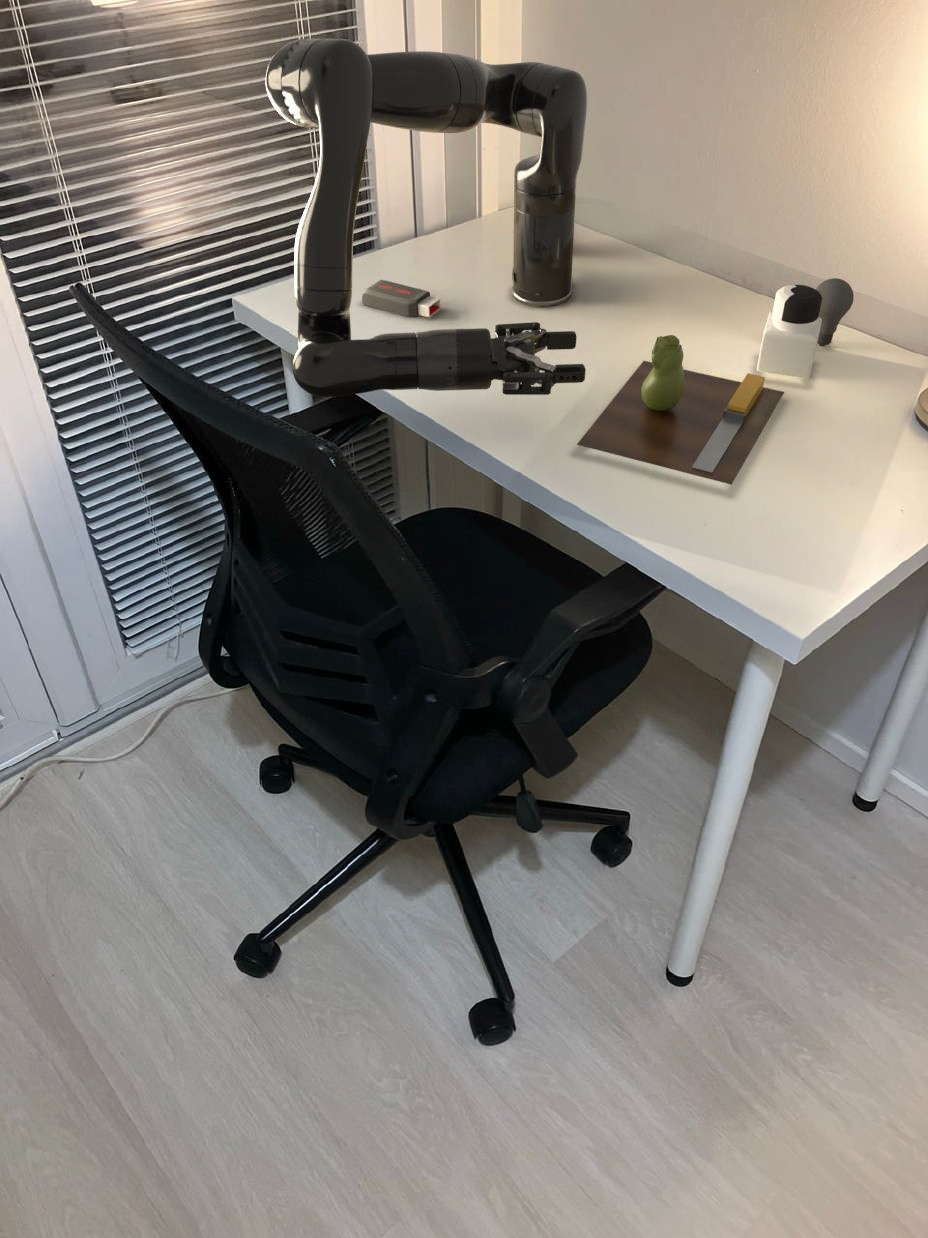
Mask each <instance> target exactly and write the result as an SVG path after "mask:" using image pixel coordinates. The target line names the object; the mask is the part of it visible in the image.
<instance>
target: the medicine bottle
mask: <svg viewBox="0 0 928 1238" xmlns="http://www.w3.org/2000/svg"><path fill="white" fill-rule="evenodd" d="M821 303H822V295H821V294H820V292H819V291H817V290H816V288H814V287H812V286H808V285H804V284H789V285H785V286H783V287H781V288H779V289H778V290H777V291H776V292H775V298H774V303H773V309H772V310H771V311H769V313H768V316H767V320H766V324H765V326H764V330H763V333H762V337H761V338H762V339H761V344H760V350H759V354H758V360H757V365H756V371H757V372H761V373H766V374H775V375H781V376H788V377H795V378H796V377H797V378H802V379H809V378H810V377H811V374H812V368H813V364H814V359H815V356H816V355H815V354H816V349H817V345H818V344H817V342H818V337H819V332H820V327H821V322H822V319H821V318H820V317H819V312H820V308H821Z"/></svg>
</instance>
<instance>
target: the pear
mask: <svg viewBox="0 0 928 1238" xmlns="http://www.w3.org/2000/svg"><path fill="white" fill-rule="evenodd" d="M651 362H652V364H653V366H654V367H653V369H652V370H651V371H650V373H649V375H648V376H647V378H646V379H645V380H644V382H643V384H642V389H641V394H642V398H643V401H644V402H645V404H646V405H647V406H648V407H650V408H651V409H654V410H657V411H666V410H669V409H672V408H673V407H675V406H676V405H677V404H678V402H679V401H680V399H681V396H682V393H683V385H684V370H685V369H684V366H683V362H684V350H683V346H682V344H680V339H679V338H678V337H677V336H676V335H674V334H668V335H664V336H662V335H660V336H657V337H656V339H655V342H654V345H653V347H652V350H651ZM683 369H684V370H683Z"/></svg>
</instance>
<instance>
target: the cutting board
mask: <svg viewBox="0 0 928 1238" xmlns="http://www.w3.org/2000/svg"><path fill="white" fill-rule="evenodd" d="M653 367H654V366H653V364H652V361H648V360H643V361H642V362H641V363H640V365H639V366H638V367H637V369H636V370H635V371H634V372H633V373H632V374H631V376H630V377H629V378H628V379H627V381H626V382H625V383H624V385H623V386H622V387H621V389H619V391H618V392H617V393H616V395H615V396H614V397H613V399H612V400H611V401H610V402H609V403H608V405H607V406H606V407H605V409H604V410H603V411H602V412H601V413H600V414H599V416H598V417H597V418H596V419H595V421H594V422H593V423H592V425H591V426H590V427H589V428H588V430H587V431H586V432H585V434H583V436H582V437H581V438H580V440H578V442H577V443H576V445H577V446H581V447H584V448H588V449H592V450H596V451H600V452H604V453H606V454H607V453H608V454H611V455H614V456H615V455H616V456H618V457H623V458H627V459H631V460H634V461H639V462H643V463H646V464H650V465H654V466H658V467H662V468H666V469H670V470H674V471H678V472H681V473H685V474H689V475H692V476H697V477H701V478H705V479H708V480H712V481H716V482H721V483H723V484H727V485H733V483H734V481H735V479H736V477H737V476H738V474H739V472H740V470H741V468H742V467H743V465H744V463H745V462H746V460H747V459H748V456H749V454H751V451H752V449H753V448H754V446H755V444H756V443H757V441H758V439H759V438H760V436H761V434H762V432H763V431H764V428H765V427H766V425H767V423H768V422H769V420H770V418H771V416H772V415H773V413H774V411H775V409H776V408H777V406H778V405H779V402H780V401H781V399H782V398H783V395H785V391H783V390H778V389H773V388H768V387H765V386H763V389H762V391H761V393H760V394H759V396H758V398H757V399H756V401H755V403H754V404H753V406H752V408H751V409H750V411H749V412H748V414H747V416H746V420H745V422H744V423H743V424H742V426H741V427H740V429H739V430H738V432H737V434H736V435H735V437H734V439H733V440H732V442H731V444H730V445H729V447H728V449H727V450H726V452H725V454H724V455H723V457H722V459H721V460H720V462H719V464H718V465H717V467H716V468H715V470H714V472H713V473H712V474H709V473H705V472H702V471H698V470H694V469H692V466H693V464H694V463H695V461H696V460H697V458H698V456H699V455H700V453H701V452H702V450H703V449H704V447H705V445H706V444H707V442H708V441H709V439H710V438H711V436H712V434H713V433H714V431H715V430H716V428H717V427H718V425H719V423H720V422H721V420H722V419H723V413H724V410H725V408H727V406H728V403H729V402H730V400H731V399H732V397H733V395H734V394H735V392H736V391H737V389H738V388H739V386H740V385H741V383H742V381H738V380H733V379H732V380H731V379H728V378H724V377H719V376H715V375H710V374H705V373H702V372H697V371H692V370H688V369H684V368H683V370H684V385H683V393H682V396H681V399H680V401H679V402H678V404H677V405H676V406H675V407H673V408H672V409H669V410H666V411H657V410H654V409H651V408H650V407H648V406H647V405H646V404H645V402H644V401H643V398H642V394H641V389H642V384H643V382H644V380H645V379H646V378H647V376H648V375H649V373H650V371H651V370H652V369H653Z"/></svg>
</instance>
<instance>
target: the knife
mask: <svg viewBox="0 0 928 1238" xmlns="http://www.w3.org/2000/svg"><path fill="white" fill-rule="evenodd" d="M765 380H766V377H765V376H763V375H758V374H754V373H749V372H748V373H746V376H744V378H743V380H742V381H741V382H742V383H741V385H740V386H739V388H738V389H737V391H736V392H735V394H734V395H733V397H732V399H731V400H730V402H729V403H728V406H727V408H725V410H724V413H723V419H722V420H721V422H720V423H719V425H718V427H717V428H716V430H715V431H714V433H713V434H712V436H711V438H710V439H709V441H708V442H707V444H706V445H705V447H704V449H703V450H702V452H701V453H700V455H699V456H698V458H697V460H696V461H695V463H694V464H693V466H692V469H694V470H698V471H702V472H705V473H709V474H712V473H713V472H714V470H715V468H716V467H717V465H718V464H719V462H720V460H721V459H722V457H723V455H724V454H725V452H726V450H727V449H728V447H729V445H730V444H731V442H732V440H733V439H734V437H735V435H736V434H737V432H738V430H739V429H740V427H741V426H742V424H743V423H744V422H745V420H746V416H747V414H748V412H749V411H750V409H751V408H752V406H753V404H754V403H755V401H756V399H757V398H758V396H759V394H760V393H761V391H762V389H763V387H765V386H764V385H765Z"/></svg>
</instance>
